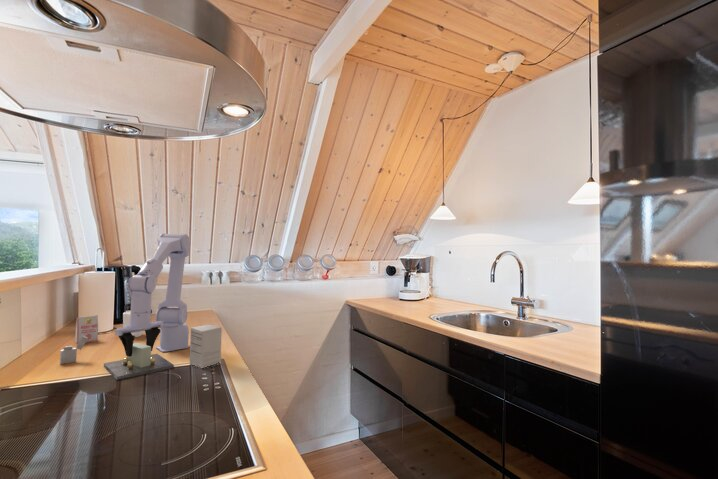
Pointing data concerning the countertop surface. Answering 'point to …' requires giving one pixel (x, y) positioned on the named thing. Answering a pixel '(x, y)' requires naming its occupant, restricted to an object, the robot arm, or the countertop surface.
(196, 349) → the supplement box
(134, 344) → the sage block
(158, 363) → the standoff plate
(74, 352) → the lighter
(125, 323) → the white cup
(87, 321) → the printed carton
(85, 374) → the countertop surface
